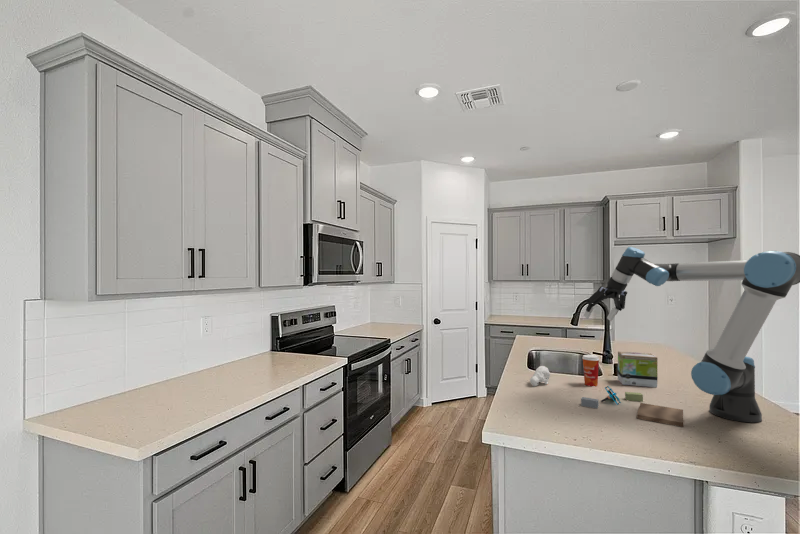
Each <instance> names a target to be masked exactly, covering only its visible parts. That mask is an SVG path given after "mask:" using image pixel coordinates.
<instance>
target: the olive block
mask: <svg viewBox="0 0 800 534" xmlns="http://www.w3.org/2000/svg"><path fill="white" fill-rule="evenodd" d="M625 398H626V399H625ZM624 399H625V400H626V401H627V400H629V401H630V402H640V401H641V402H640V403H643V402H644V395H643V393H642V392H631V391H625V392H624Z"/></svg>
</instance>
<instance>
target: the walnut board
mask: <svg viewBox="0 0 800 534" xmlns="http://www.w3.org/2000/svg"><path fill="white" fill-rule="evenodd" d="M636 418H637V419H638V420H643V421H648V422H656V423H660V424H665V425H669V426H671V425H672V426H675V425H676V427H682V428H684V409H679V408H675V407H668V406H662V405H658V404H657V405H656V404H650V403H643V402H640V403H639V407H638V410H637V413H636Z"/></svg>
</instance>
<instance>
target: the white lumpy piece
mask: <svg viewBox="0 0 800 534" xmlns="http://www.w3.org/2000/svg"><path fill="white" fill-rule="evenodd" d="M550 376H551V372H550V371H549V368H548V367H547V366H545V365H539V366H538V367H537V368H536V369H535V371H534V374H532V376H531V377H530V378H529V383H530V384H531V385H533V386H532V387H537V386H539V384H540V383H539V382H541V383H544V385H546V384H549V380H550Z"/></svg>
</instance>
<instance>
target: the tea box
mask: <svg viewBox="0 0 800 534" xmlns="http://www.w3.org/2000/svg"><path fill="white" fill-rule="evenodd" d="M617 380H618V381H619V383H620V384H621V385H625V386H637V387H648V388H655V387H656V388H658V356H656V355H655V354H653V353H649V352H647V353H646V352H632V351H619V350H618V351H617ZM656 388H655V389H656Z"/></svg>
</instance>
